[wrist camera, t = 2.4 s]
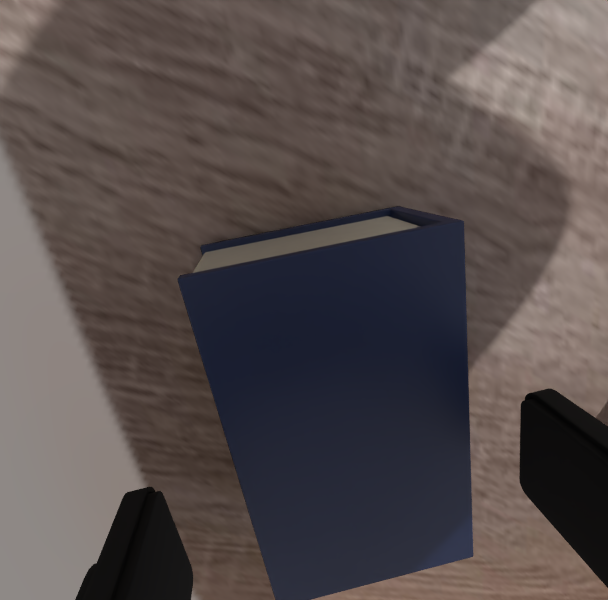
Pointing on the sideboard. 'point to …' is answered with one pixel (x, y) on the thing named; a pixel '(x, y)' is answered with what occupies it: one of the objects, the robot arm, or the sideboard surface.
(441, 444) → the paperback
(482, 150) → the sideboard surface
